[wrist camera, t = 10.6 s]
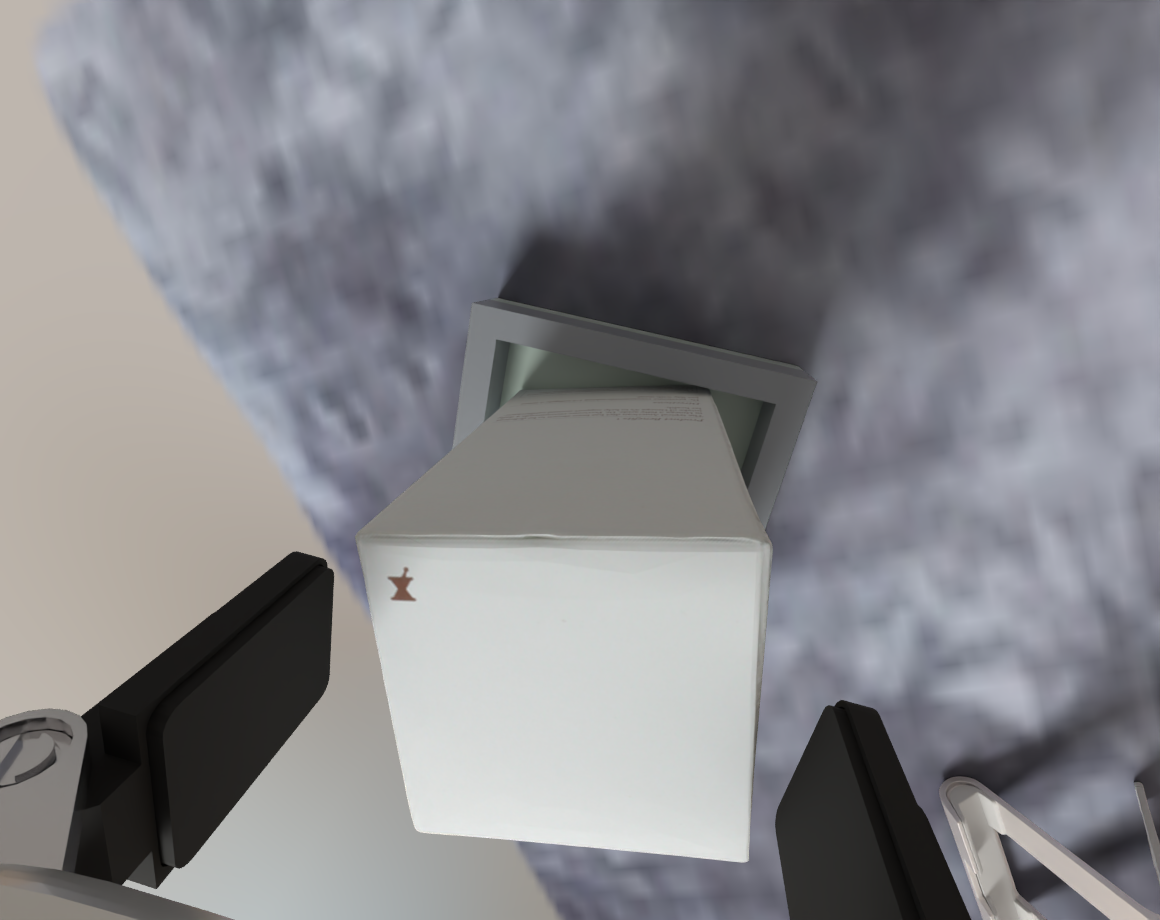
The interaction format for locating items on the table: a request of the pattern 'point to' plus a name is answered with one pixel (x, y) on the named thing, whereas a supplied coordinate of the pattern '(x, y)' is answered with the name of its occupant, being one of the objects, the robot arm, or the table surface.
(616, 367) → the tray
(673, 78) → the table surface
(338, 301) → the table surface
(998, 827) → the portable electronic device stand
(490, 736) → the supplement box
